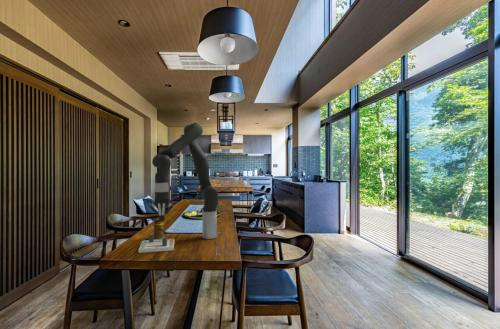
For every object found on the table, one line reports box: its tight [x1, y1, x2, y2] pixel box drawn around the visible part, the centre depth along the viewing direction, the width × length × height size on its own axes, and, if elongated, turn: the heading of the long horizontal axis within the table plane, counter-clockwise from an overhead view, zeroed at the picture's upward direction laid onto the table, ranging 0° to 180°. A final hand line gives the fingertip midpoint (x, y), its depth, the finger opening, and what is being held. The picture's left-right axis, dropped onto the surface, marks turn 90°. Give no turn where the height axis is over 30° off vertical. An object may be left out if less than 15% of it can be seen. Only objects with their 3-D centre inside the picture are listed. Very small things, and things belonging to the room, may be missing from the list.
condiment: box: [153, 218, 165, 240], centre depth 167 cm, size 7×8×12 cm
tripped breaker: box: [161, 236, 168, 246], centre depth 145 cm, size 2×2×4 cm
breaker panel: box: [138, 238, 175, 254], centre depth 148 cm, size 18×16×2 cm
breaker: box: [148, 233, 154, 242], centre depth 152 cm, size 2×2×4 cm
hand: (161, 221), depth 145 cm, fingers closed
